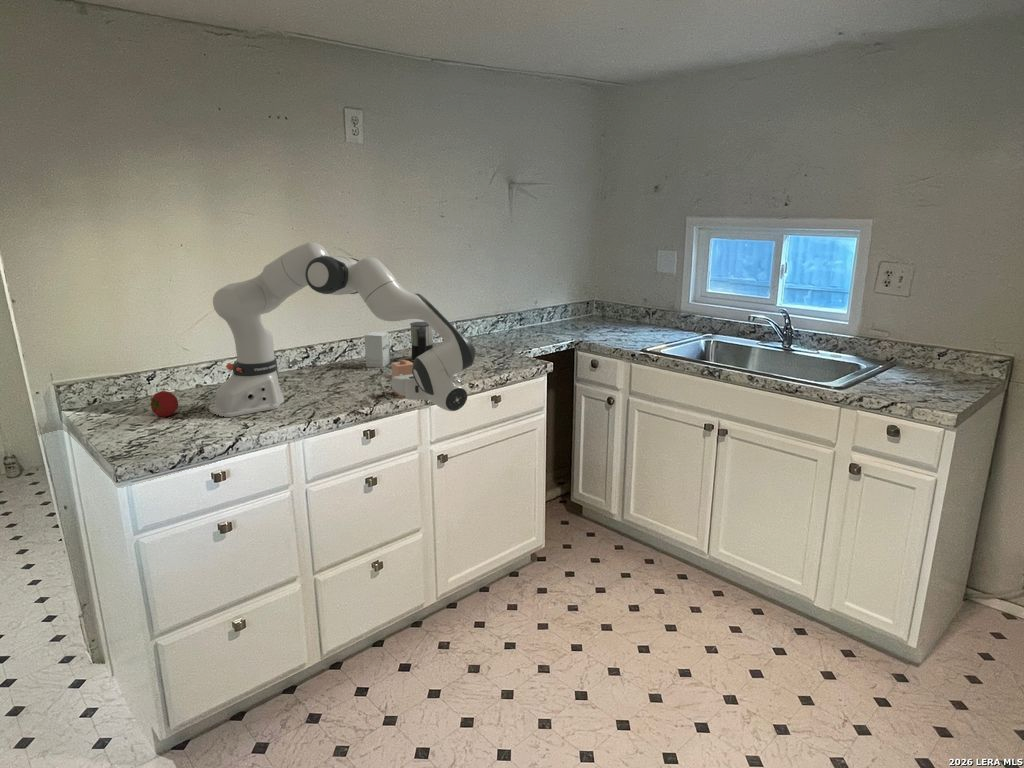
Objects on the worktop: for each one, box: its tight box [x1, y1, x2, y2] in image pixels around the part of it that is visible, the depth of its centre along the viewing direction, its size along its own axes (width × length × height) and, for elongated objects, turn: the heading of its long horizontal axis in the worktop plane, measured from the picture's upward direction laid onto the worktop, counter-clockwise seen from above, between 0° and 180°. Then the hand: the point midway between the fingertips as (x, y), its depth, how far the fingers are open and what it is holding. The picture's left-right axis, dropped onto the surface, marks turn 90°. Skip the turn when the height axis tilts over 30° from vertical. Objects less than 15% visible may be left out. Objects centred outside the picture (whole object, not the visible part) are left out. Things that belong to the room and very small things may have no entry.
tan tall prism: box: [391, 359, 413, 400], centre depth 216 cm, size 6×6×12 cm
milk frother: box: [409, 321, 434, 361], centre depth 264 cm, size 14×16×15 cm
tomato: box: [149, 390, 179, 418], centre depth 196 cm, size 8×8×8 cm
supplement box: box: [363, 331, 391, 368], centre depth 255 cm, size 7×7×13 cm
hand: (415, 374), depth 206 cm, fingers open, 8 cm apart
